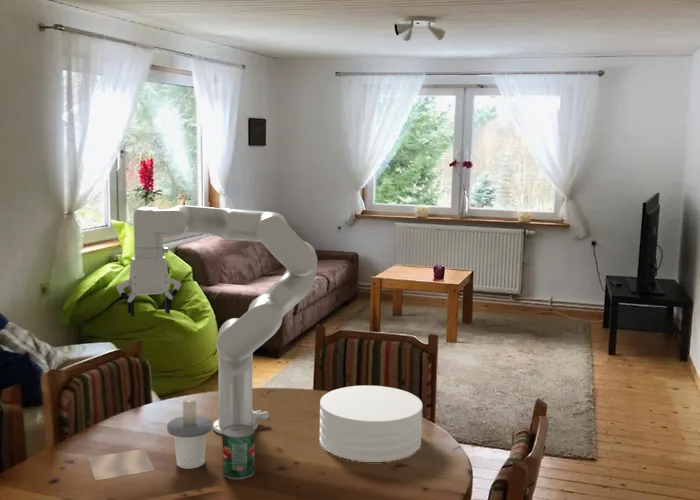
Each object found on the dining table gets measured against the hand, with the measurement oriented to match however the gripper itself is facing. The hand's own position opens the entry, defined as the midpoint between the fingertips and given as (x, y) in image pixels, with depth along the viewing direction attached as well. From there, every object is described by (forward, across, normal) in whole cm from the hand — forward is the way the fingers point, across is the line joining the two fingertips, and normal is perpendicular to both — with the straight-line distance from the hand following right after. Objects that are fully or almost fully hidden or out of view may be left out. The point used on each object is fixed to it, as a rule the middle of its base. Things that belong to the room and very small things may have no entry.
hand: (149, 314), depth 206 cm
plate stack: (+34, -53, +32) cm, 70 cm away
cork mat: (+33, +12, +22) cm, 42 cm away
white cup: (+34, -4, +28) cm, 44 cm away
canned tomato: (+34, -14, +36) cm, 51 cm away
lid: (+23, -4, +28) cm, 37 cm away
